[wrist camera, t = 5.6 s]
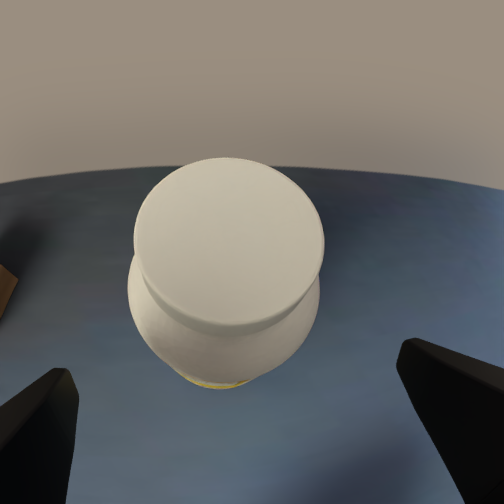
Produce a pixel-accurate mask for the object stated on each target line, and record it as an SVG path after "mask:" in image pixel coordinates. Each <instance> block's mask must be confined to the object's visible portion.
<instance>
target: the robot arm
mask: <svg viewBox="0 0 504 504" xmlns="http://www.w3.org/2000/svg"><path fill="white" fill-rule="evenodd" d="M396 368H397V372H398V374H399V376H400V378H401V380H402V382H403V385H404V387H405V389H406V391H407V393H408V396H409V398H410V400H411V402H412V405H413V407H414V409H415V411H416V413H417V415H418V416H419V418H420V420H421V422H422V423H423V425H424V427H425V429H426V430H427V432H428V434H429V436H430V438H431V439H432V441H433V443H434V445H435V447H436V448H437V450H438V452H439V454H440V456H441V458H442V460H443V461H444V463H445V465H446V467H447V469H448V471H449V473H450V475H451V477H452V479H453V480H454V482H455V484H456V486H457V488H458V490H459V492H460V494H461V496H462V498H463V500H464V502H465V504H504V369H503V368H501V367H498V366H495V365H492V364H489V363H486V362H483V361H480V360H478V359H475V358H472V357H469V356H466V355H463V354H461V353H458V352H455V351H452V350H449V349H447V348H444V347H441V346H438V345H436V344H433V343H430V342H427V341H425V340H422V339H419V338H411V339H407V340H405V341H404V342H403V343H402V346H401V349H400V353H399V356H398V359H397V363H396ZM78 406H79V394H78V391H77V388H76V386H75V383H74V381H73V378H72V376H71V373H70V371H69V370H68V369H66V368H53V369H51V370H50V371H49V372H47V373H46V374H44V375H43V376H42V377H40V378H39V379H37V380H36V381H35V382H33V383H32V384H31V385H29V386H28V387H26V388H25V389H24V390H22V391H21V392H20V393H18V394H17V395H15V396H14V397H13V398H11V399H10V400H9V401H7V402H6V403H5V404H3V405H2V406H0V504H66V496H67V489H68V482H69V476H70V470H71V464H72V459H73V453H74V446H75V435H76V424H77V414H78Z"/></svg>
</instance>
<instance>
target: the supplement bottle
mask: <svg viewBox="0 0 504 504" xmlns="http://www.w3.org/2000/svg"><path fill="white" fill-rule="evenodd" d="M134 250H135V255H134V257H133V260H132V263H131V267H130V272H129V277H128V298H129V305H130V310H131V313H132V316H133V319H134V321H135V324H136V326H137V328H138V330H139V332H140V334H141V336H142V337H143V339H144V340H145V342H146V343H147V345H148V346H149V347H150V348H151V349H152V350H153V352H154V353H155V354H156V355H157V356H158V357H159V358H161V359H162V360H163V361H164V362H165V363H167V364H168V365H169V366H171V367H172V368H173V369H174V370H175V371H177V372H178V373H179V374H180V375H182V376H183V377H184V378H186V379H187V380H189V381H191V382H192V383H194V384H197V385H199V386H202V387H206V388H211V389H228V388H233V387H237V386H240V385H242V384H245V383H247V382H249V381H251V380H253V379H254V378H256V377H258V376H260V375H262V374H265V373H267V372H269V371H271V370H272V369H274V368H276V367H278V366H279V365H281V364H282V363H283V362H285V361H286V360H287V359H288V358H289V357H291V356H292V355H293V354H294V353H295V352H296V351H297V349H298V348H299V347H300V346H301V345H302V343H303V342H304V340H305V339H306V337H307V335H308V334H309V332H310V330H311V328H312V326H313V323H314V321H315V317H316V314H317V310H318V305H319V296H320V284H319V275H318V273H319V271H320V268H321V265H322V261H323V256H324V233H323V228H322V224H321V221H320V218H319V215H318V213H317V211H316V209H315V207H314V205H313V203H312V202H311V200H310V199H309V197H308V196H307V195H306V194H305V193H304V191H303V190H302V189H301V188H300V187H299V186H298V185H297V184H295V183H294V182H293V181H292V180H290V179H289V178H288V177H286V176H285V175H283V174H282V173H280V172H279V171H277V170H275V169H273V168H271V167H269V166H266V165H264V164H261V163H258V162H254V161H250V160H246V159H239V158H214V159H206V160H202V161H198V162H194V163H191V164H188V165H186V166H184V167H181V168H179V169H178V170H176V171H174V172H172V173H171V174H169V175H168V176H167V177H165V178H164V179H163V180H162V181H161V182H159V183H158V184H157V185H156V186H155V187H154V188H153V190H152V191H151V192H150V193H149V195H148V196H147V198H146V199H145V201H144V202H143V204H142V206H141V208H140V211H139V213H138V216H137V220H136V224H135V230H134Z"/></svg>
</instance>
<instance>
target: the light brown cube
mask: <svg viewBox="0 0 504 504" xmlns="http://www.w3.org/2000/svg"><path fill="white" fill-rule="evenodd" d="M18 280H19V279H17V278H16V277H15V276H14V275H13V274H11V273H10V272H9V271H8V270H7V269H6V268H4V267H3V266H2V265H1V264H0V319H1V316H2V314H3V312H4V309H5V307H6V305H7V303H8V301H9V298H10V296H11V294H12V292H13V290H14V288H15V286H16V284H17V282H18Z"/></svg>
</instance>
